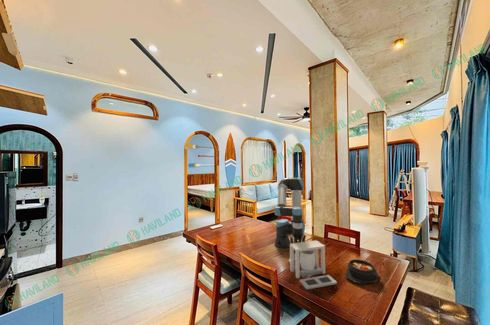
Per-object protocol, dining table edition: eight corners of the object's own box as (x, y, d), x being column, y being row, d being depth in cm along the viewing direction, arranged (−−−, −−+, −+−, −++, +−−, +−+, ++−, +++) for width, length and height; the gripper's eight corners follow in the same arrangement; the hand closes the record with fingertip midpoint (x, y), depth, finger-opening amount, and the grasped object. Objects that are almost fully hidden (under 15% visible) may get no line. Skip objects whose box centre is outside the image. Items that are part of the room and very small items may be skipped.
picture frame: (287, 261, 153) (287, 242, 153) (306, 258, 156) (305, 240, 156) (301, 276, 132) (301, 254, 132) (322, 273, 136) (321, 251, 136)
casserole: (366, 291, 118) (366, 277, 118) (337, 276, 134) (337, 264, 134) (385, 277, 131) (385, 265, 131) (357, 265, 147) (357, 254, 147)
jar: (317, 271, 140) (317, 251, 139) (311, 278, 132) (310, 256, 132) (304, 266, 147) (304, 246, 147) (297, 271, 140) (296, 251, 140)
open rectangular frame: (290, 270, 142) (289, 243, 142) (316, 266, 147) (316, 240, 147) (306, 289, 121) (306, 258, 121) (337, 283, 126) (336, 253, 126)
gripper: (290, 230, 147) (290, 261, 147) (309, 228, 151) (309, 258, 151) (285, 226, 155) (286, 256, 155) (304, 225, 158) (304, 253, 158)
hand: (298, 257), depth 153 cm, fingers closed on picture frame, 3 cm apart
